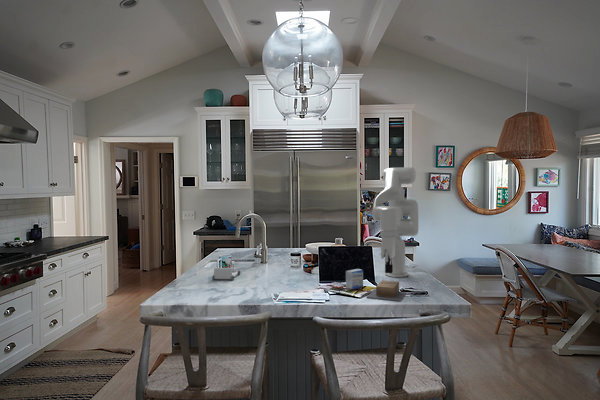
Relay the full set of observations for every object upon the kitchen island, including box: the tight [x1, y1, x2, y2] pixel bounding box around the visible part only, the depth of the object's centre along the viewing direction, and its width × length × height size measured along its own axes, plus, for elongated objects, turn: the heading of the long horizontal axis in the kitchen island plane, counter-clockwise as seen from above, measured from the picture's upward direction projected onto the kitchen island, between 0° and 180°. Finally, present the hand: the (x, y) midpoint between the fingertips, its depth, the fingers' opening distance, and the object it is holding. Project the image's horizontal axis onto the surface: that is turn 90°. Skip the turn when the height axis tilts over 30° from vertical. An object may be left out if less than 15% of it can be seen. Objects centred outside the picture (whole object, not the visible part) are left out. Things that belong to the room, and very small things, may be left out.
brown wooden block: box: [375, 280, 400, 297], centre depth 185 cm, size 4×8×12 cm
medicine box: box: [345, 268, 364, 290], centre depth 198 cm, size 8×4×9 cm, turn 126°
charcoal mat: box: [366, 288, 407, 303], centre depth 183 cm, size 14×15×1 cm
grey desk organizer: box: [211, 257, 241, 282], centre depth 225 cm, size 18×10×12 cm
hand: (388, 272), depth 187 cm, fingers closed
